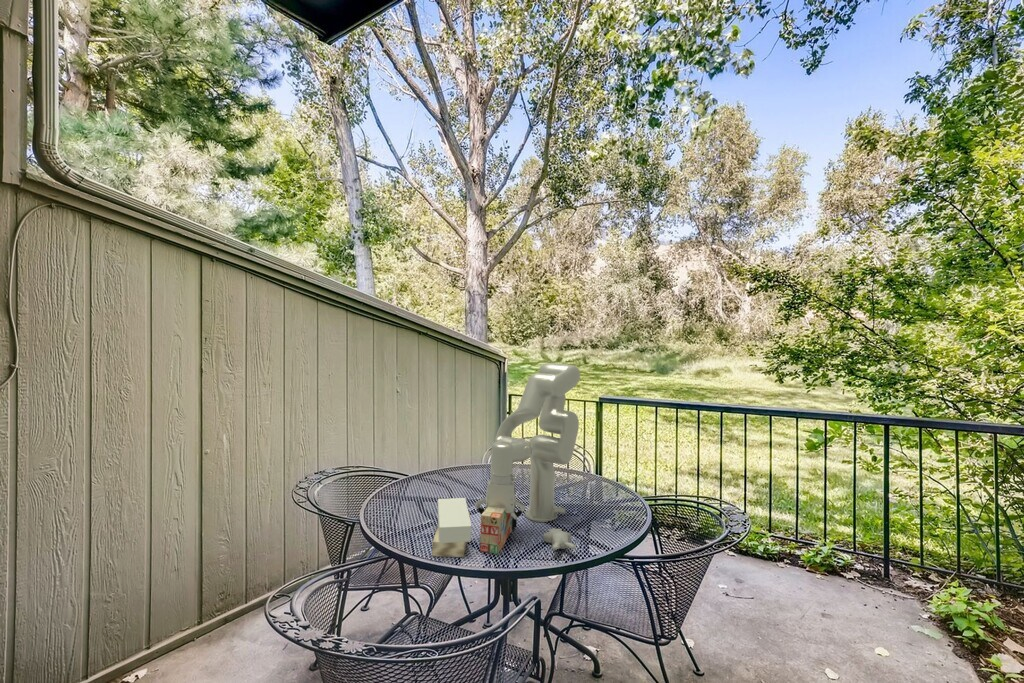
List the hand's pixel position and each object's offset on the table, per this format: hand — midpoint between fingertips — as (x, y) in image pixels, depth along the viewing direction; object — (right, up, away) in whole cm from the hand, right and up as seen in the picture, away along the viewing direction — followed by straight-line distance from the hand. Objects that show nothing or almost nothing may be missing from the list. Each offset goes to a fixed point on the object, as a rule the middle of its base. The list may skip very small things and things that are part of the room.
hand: (499, 528), depth 155 cm
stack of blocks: (0, -4, +1) cm, 4 cm away
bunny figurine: (+20, -5, -4) cm, 21 cm away
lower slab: (-16, -4, -1) cm, 17 cm away
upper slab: (-16, +1, -1) cm, 16 cm away
